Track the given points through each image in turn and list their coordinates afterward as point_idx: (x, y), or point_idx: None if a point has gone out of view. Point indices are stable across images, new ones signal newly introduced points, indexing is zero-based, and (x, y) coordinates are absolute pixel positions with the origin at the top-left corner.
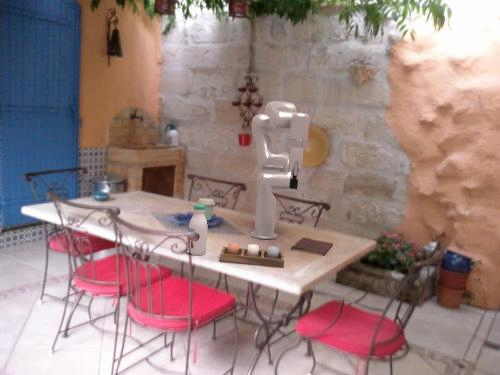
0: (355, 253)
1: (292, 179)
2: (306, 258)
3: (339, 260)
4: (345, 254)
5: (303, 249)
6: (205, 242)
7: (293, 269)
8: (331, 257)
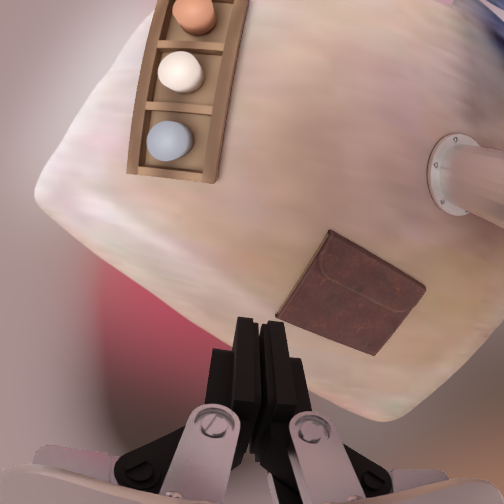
0: None
1: (202, 415)
2: (242, 259)
3: None
4: None
5: (310, 267)
6: None
7: (129, 198)
8: None
